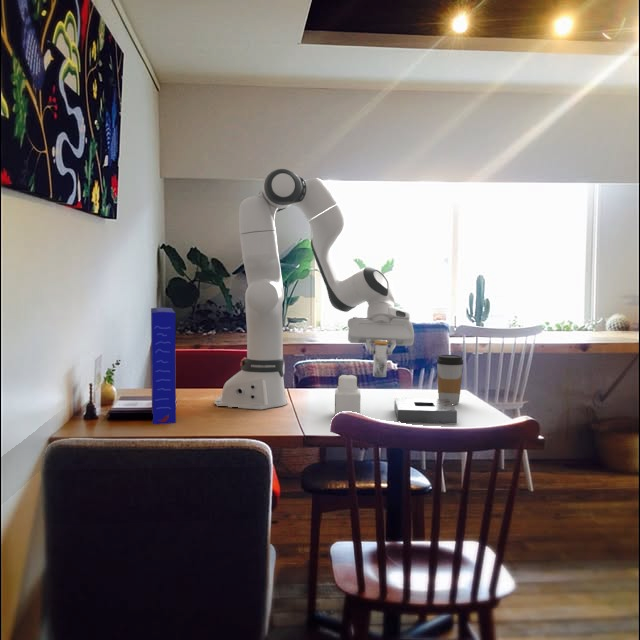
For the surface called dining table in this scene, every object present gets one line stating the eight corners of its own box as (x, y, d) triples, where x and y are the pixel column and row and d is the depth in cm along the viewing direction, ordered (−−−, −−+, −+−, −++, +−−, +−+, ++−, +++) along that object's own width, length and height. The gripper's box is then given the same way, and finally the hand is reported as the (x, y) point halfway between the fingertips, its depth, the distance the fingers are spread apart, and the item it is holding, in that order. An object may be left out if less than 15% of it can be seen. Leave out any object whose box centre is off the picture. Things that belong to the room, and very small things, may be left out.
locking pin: (372, 376, 182) (374, 340, 181) (372, 374, 186) (374, 338, 185) (386, 377, 182) (388, 340, 181) (385, 375, 186) (387, 339, 185)
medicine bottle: (334, 413, 178) (335, 372, 177) (359, 413, 178) (360, 372, 177) (334, 418, 171) (335, 376, 170) (360, 419, 171) (360, 376, 170)
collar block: (397, 422, 167) (398, 409, 167) (394, 409, 183) (394, 398, 183) (456, 423, 166) (457, 411, 166) (448, 410, 182) (448, 399, 182)
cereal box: (175, 422, 164) (175, 311, 162) (152, 424, 162) (152, 311, 160) (172, 406, 185) (171, 307, 182) (151, 407, 183) (151, 307, 181)
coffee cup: (462, 406, 189) (464, 358, 188) (435, 404, 191) (436, 357, 190) (461, 400, 197) (463, 355, 196) (435, 399, 199) (436, 354, 198)
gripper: (348, 310, 190) (346, 345, 181) (414, 313, 189) (415, 348, 180) (347, 323, 195) (345, 358, 186) (412, 326, 193) (413, 361, 184)
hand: (380, 353), depth 183 cm, fingers closed on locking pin, 4 cm apart
